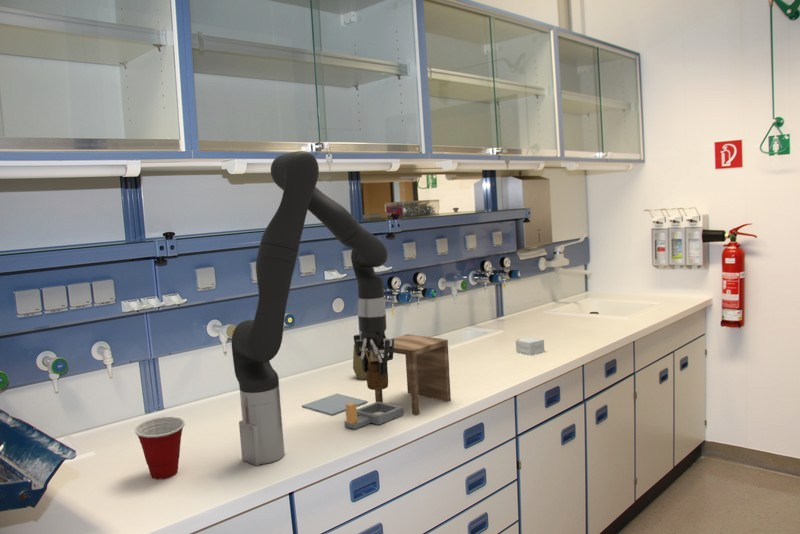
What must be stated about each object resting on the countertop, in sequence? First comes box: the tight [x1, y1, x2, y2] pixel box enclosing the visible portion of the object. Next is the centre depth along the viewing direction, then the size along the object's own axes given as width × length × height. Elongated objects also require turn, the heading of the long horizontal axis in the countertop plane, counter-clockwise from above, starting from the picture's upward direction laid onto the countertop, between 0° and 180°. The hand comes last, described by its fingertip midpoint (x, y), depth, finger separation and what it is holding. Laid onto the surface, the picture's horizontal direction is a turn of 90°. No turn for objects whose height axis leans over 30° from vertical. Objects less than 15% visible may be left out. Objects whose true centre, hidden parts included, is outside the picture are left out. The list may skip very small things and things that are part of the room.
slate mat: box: [301, 393, 369, 417], centre depth 187 cm, size 14×14×1 cm
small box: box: [515, 336, 545, 357], centre depth 237 cm, size 8×8×5 cm
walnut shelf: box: [372, 333, 452, 416], centre depth 183 cm, size 16×16×18 cm
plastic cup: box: [134, 416, 186, 480], centre depth 143 cm, size 11×11×12 cm
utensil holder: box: [364, 346, 389, 391], centre depth 173 cm, size 6×6×12 cm
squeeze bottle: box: [352, 330, 373, 380], centre depth 215 cm, size 8×8×18 cm
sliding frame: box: [344, 401, 405, 430], centre depth 171 cm, size 16×10×6 cm, turn 137°
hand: (375, 373), depth 172 cm, fingers closed on utensil holder, 6 cm apart
